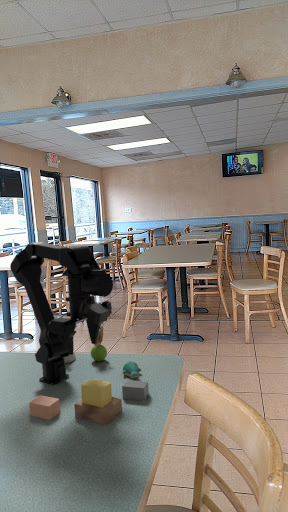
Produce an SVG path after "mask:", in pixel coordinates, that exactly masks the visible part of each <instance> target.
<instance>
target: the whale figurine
mask: <svg viewBox="0 0 288 512" xmlns="http://www.w3.org/2000/svg"><path fill="white" fill-rule="evenodd" d="M141 372H142V369H141V368H140V367H139V365H138V363H136V362H135V361H131V360H129V361H127V362H125V363H124V364H123V367H122V375H125V376H127V377H129V378H130V379H135V378H139V377H140V374H139V373H141Z"/></svg>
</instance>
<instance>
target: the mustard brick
mask: <svg viewBox="0 0 288 512" xmlns="http://www.w3.org/2000/svg"><path fill="white" fill-rule="evenodd" d="M80 388H81V389H80V390H81V394H80V395H81V399H82V403H86V404H90V405H93V406H97V407H101V408H102V407H104V406H105V405H107V404H108V403H109V402H111V401H112V397H113V396H112V394H113V393H112V383H111V382H109V381H106V380H105V381H103V380H100V379H94V378H90V379H88V380H86V381H85V382H83V383H81V385H80Z"/></svg>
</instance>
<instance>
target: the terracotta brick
mask: <svg viewBox="0 0 288 512" xmlns="http://www.w3.org/2000/svg"><path fill="white" fill-rule="evenodd" d="M28 404H29V415H30V416H31V415H32V416H31V417H35V416H36V418H40V419H45V420H51V419H53V418H54V417H55V416H57V415H58V414H59V413H60V412H61V405H60V398H57V397H51V396H45V395H40V394H39V395H38V396H37V397H35V398H33V399H32V400H31V401H29V402H28Z"/></svg>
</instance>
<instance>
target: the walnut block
mask: <svg viewBox="0 0 288 512" xmlns="http://www.w3.org/2000/svg"><path fill="white" fill-rule="evenodd" d="M122 402H123V401H122V398H118V397H114V396H112V401H111V402H109V403H108V404H107V405H105V406H104V407H102V408H101V407H97V406H93V405H90V404H86V403H82V398H81V399H79V400H78V401H76V402H75V403H74V404H73V405H74V417H77V418H80V419H82V420H87V421H89V422H94V423H97V424H100V425H104V426H106V425H107V424H108V423H109V422H111V421H112V420H113V419H114V418H116V417H117V416H118V415H120V414H121V413H122V412H123V403H122Z"/></svg>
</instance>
